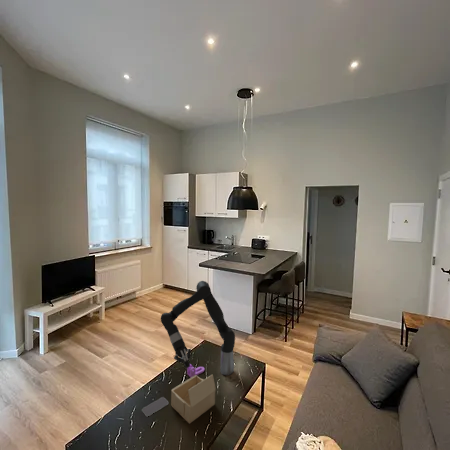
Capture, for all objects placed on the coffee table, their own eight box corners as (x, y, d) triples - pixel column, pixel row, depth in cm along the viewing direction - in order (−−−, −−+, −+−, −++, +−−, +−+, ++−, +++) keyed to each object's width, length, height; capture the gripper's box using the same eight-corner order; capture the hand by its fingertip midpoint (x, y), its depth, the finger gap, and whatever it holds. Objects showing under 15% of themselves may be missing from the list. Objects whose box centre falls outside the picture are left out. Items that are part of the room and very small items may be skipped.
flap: (212, 374, 158) (212, 374, 157) (215, 389, 156) (215, 389, 156) (188, 389, 144) (188, 390, 144) (191, 406, 143) (191, 407, 142)
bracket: (190, 378, 181) (191, 369, 181) (187, 374, 186) (187, 365, 185) (205, 371, 189) (206, 362, 189) (201, 367, 194) (202, 358, 193)
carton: (196, 388, 171) (196, 374, 170) (215, 403, 158) (215, 388, 158) (169, 405, 156) (169, 390, 155) (188, 424, 143) (188, 407, 142)
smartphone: (141, 409, 152) (163, 396, 163) (141, 410, 152) (163, 397, 163) (146, 416, 147) (169, 403, 157) (146, 418, 147) (169, 404, 157)
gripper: (171, 342, 160) (182, 370, 152) (187, 335, 169) (199, 360, 162) (166, 347, 164) (177, 374, 156) (182, 339, 173) (193, 364, 166)
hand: (188, 367), depth 159 cm, fingers closed
